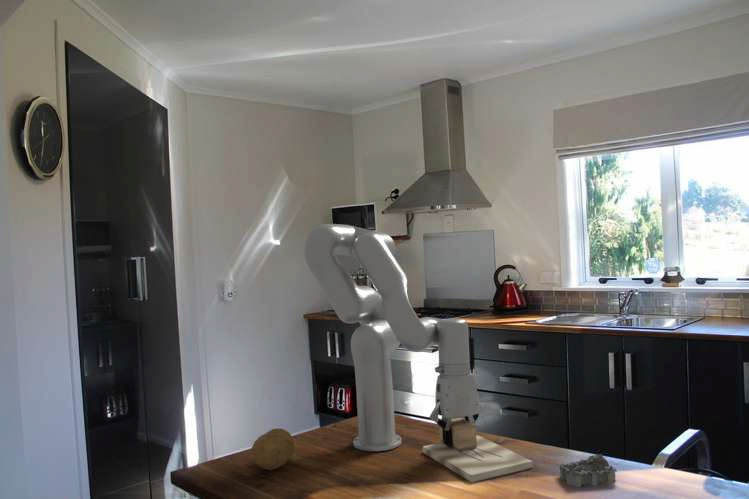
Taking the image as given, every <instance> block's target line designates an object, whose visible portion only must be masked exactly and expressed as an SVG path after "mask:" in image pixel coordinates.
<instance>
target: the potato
mask: <svg viewBox="0 0 749 499" xmlns="http://www.w3.org/2000/svg"><path fill="white" fill-rule="evenodd" d="M295 447H296V443H295V442H294V438H293V436H292V434H291V433H290V432H289V431H288V430H286V429H284V428H279V427H278V428H272V429H270V430H269V431H267V432H265V433H264V434H261V435H260V436H258V438H257V439H255V441H254V442H253V445H252V447H251V455H252V457H253V459H254V462H255V464H257V465H258V466H259V467H260V468H261V469H264V470H267V471H268V470H269V471H273V470H276V469H278V468H281V467H282V466H284V465H286V464H287V462H288V461H289V460H290V459H291V458H292V456H293V455H294V453H295Z"/></svg>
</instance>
